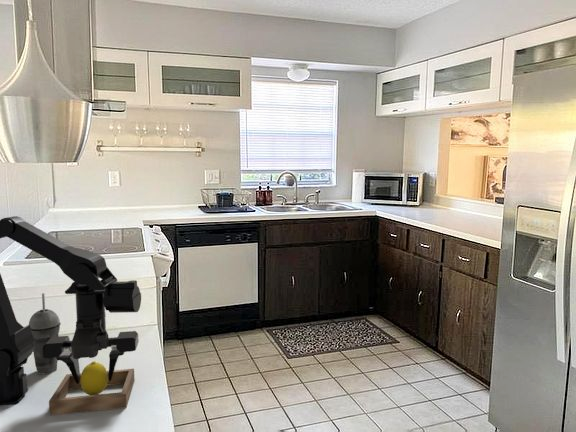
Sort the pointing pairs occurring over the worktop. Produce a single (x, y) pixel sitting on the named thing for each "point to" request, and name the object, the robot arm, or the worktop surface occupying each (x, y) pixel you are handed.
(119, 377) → the box
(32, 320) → the beverage cup
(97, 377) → the lemon
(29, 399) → the worktop surface
